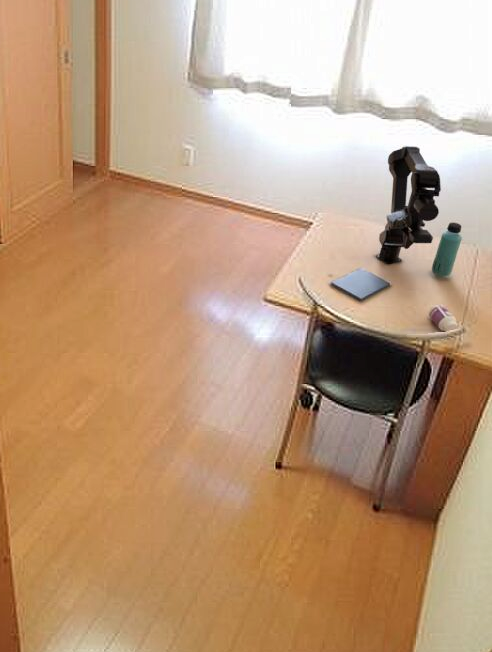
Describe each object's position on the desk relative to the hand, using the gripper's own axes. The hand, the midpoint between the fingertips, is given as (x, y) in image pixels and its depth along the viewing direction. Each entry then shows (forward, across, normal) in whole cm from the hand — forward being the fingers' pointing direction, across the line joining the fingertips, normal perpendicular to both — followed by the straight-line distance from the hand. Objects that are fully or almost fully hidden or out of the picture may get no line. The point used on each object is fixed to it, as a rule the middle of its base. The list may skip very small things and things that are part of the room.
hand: (405, 248), depth 217 cm
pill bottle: (+9, +22, +3) cm, 24 cm away
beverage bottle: (+12, -2, +16) cm, 20 cm away
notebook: (+12, +4, -14) cm, 19 cm away
